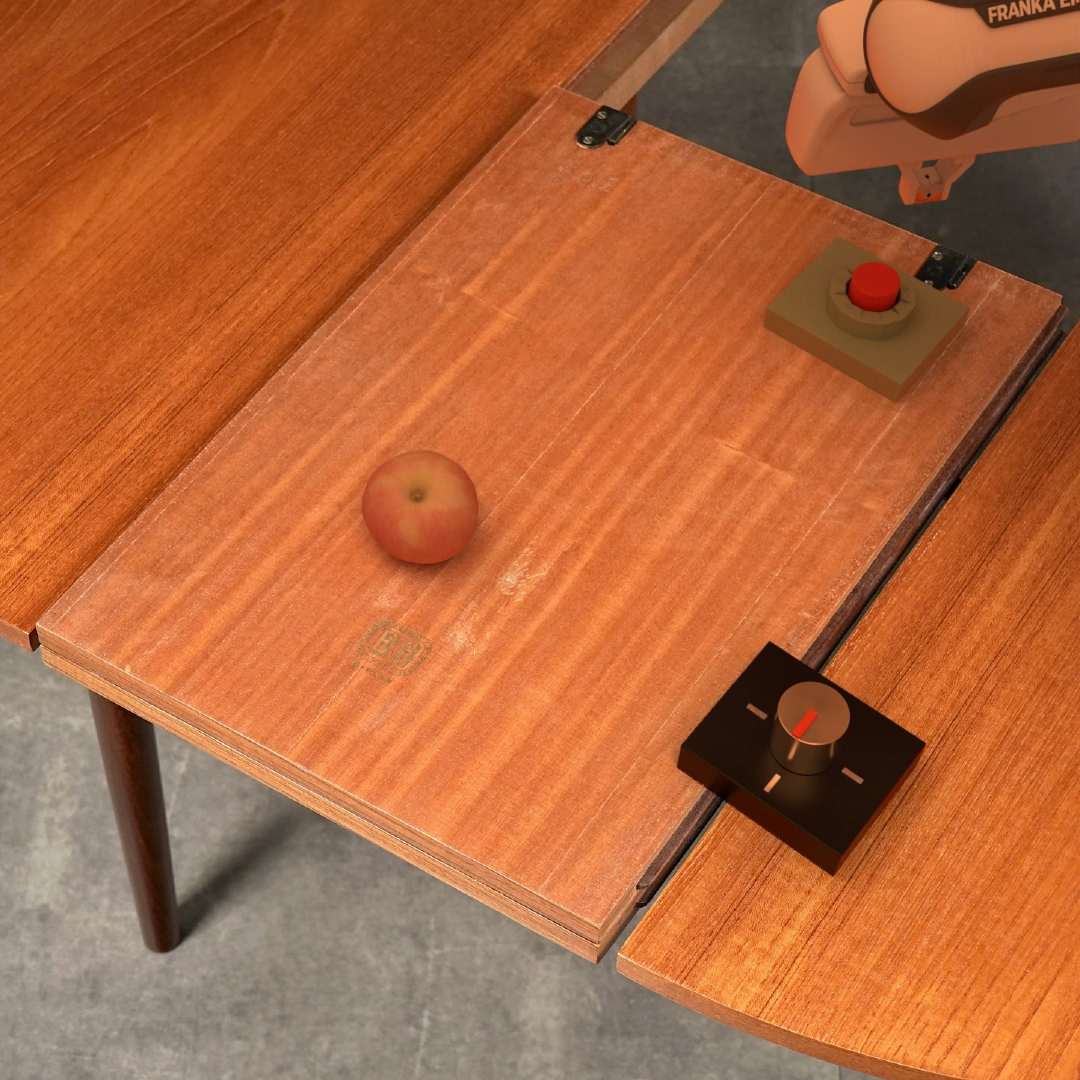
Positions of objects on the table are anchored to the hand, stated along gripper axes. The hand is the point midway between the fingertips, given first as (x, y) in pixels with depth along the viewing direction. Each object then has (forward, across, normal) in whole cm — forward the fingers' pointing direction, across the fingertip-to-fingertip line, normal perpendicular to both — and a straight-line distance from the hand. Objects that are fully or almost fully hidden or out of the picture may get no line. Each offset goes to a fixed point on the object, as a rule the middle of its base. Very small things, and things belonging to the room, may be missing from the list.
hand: (921, 196), depth 115 cm
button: (+13, 0, -4) cm, 14 cm away
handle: (+15, +16, +32) cm, 38 cm away
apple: (+17, +37, +10) cm, 42 cm away
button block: (+17, 0, -4) cm, 17 cm away
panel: (+18, +16, +32) cm, 40 cm away
